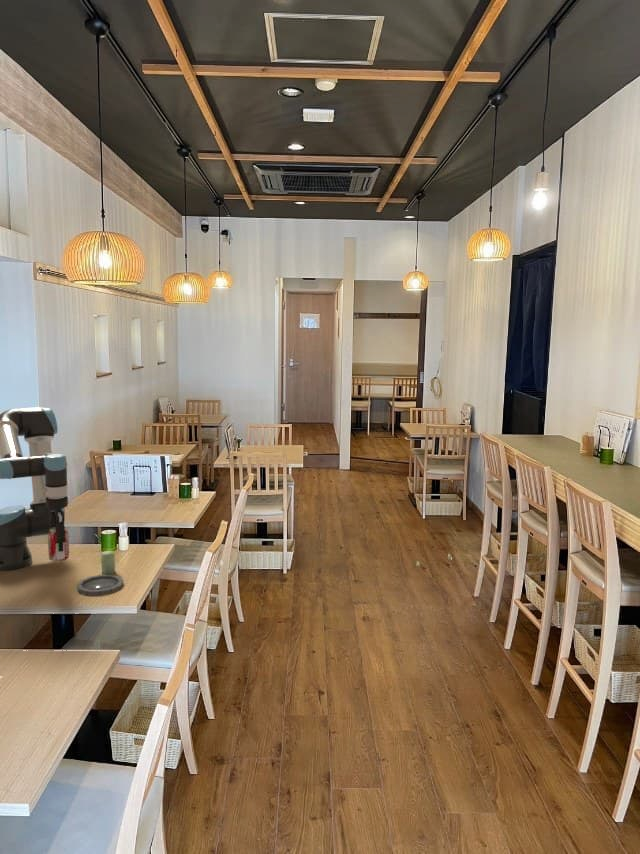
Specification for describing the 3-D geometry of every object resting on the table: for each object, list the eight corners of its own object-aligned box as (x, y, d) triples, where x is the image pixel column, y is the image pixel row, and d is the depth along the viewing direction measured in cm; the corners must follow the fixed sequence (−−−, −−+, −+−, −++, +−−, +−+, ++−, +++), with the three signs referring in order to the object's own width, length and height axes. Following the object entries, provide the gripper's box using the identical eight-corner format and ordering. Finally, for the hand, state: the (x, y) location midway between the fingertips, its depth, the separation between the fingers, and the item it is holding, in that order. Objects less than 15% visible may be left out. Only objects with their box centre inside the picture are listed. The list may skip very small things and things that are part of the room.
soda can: (61, 564, 224) (60, 533, 222) (44, 561, 225) (43, 530, 223) (73, 557, 231) (72, 526, 229) (56, 555, 232) (55, 524, 230)
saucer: (73, 583, 233) (73, 579, 232) (116, 575, 241) (116, 571, 241) (82, 598, 219) (82, 594, 219) (127, 589, 228) (127, 586, 227)
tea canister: (100, 571, 245) (99, 552, 244) (113, 568, 248) (112, 550, 246) (103, 575, 241) (102, 555, 240) (116, 572, 243) (115, 553, 242)
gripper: (41, 490, 230) (43, 548, 234) (50, 504, 214) (52, 566, 217) (62, 488, 234) (64, 545, 238) (72, 502, 218) (74, 562, 221)
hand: (58, 555), depth 228 cm, fingers closed on soda can, 7 cm apart
